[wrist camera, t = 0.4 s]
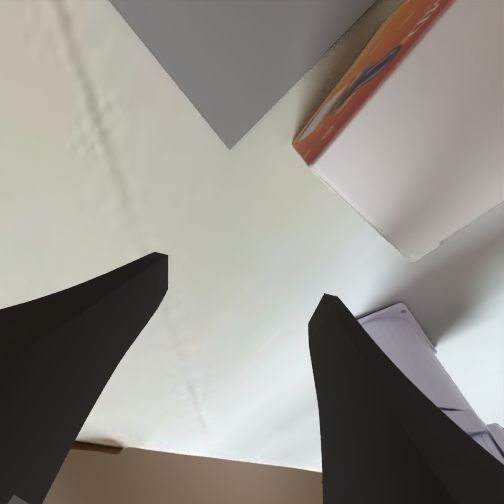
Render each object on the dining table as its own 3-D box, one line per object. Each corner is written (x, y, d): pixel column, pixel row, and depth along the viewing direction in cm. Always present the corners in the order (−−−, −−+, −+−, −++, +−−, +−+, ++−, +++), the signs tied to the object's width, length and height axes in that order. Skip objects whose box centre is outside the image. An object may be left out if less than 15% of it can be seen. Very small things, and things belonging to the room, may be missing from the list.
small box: (385, 17, 12) (767, -377, 3) (443, 92, 13) (826, 5, 4) (288, 144, 15) (303, 166, 6) (340, 192, 17) (415, 268, 8)
